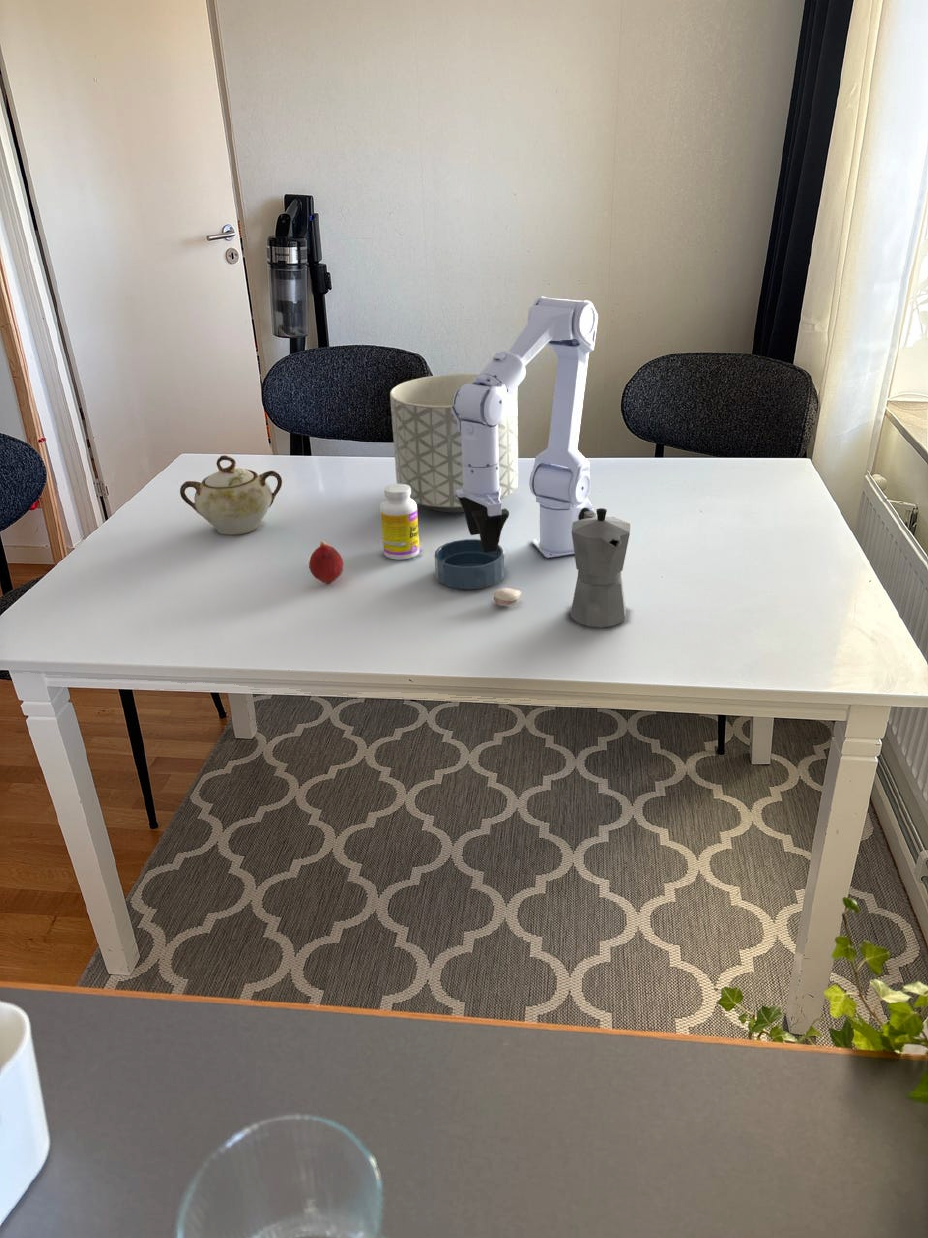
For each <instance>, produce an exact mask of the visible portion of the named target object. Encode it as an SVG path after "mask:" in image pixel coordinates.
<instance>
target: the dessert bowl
mask: <svg viewBox="0 0 928 1238" xmlns="http://www.w3.org/2000/svg"><path fill="white" fill-rule="evenodd" d="M505 567H506V566H505V549H504V548H503V547H502V546H501V545H500V544H498V547H497V551H493V552H486V553H485V552H484V551H483V549H482V545H481V539H478V538H477V539H475V538H472V539H471V538H470V539H459V540H454V541H453V540H452V541H451V542H447V543H444V544H443V545H441V546H439V547H438V548H437V549H436V550H435V551H434V571H435V573H434V574H435V578H436V579H437V581H438V582H439V583H441V584H442V585H444V586H446V587H451V588H453V589H458V590H477V589H484V588H487V587H489V586H492V585H493V586H494V585H495V584H497V583H498V582H500V581H502V579H503V578H504V576H505V575H506V574H505V573H506V571H505V569H506V568H505Z"/></svg>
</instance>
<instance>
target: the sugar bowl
mask: <svg viewBox="0 0 928 1238" xmlns="http://www.w3.org/2000/svg"><path fill="white" fill-rule="evenodd" d="M223 461H228V462H230V463H231V464H230V465H229V466H228V467H222V465H221V462H223ZM236 462H237V461H236V460H235V459H234V458H232V457H230V456H228V455H226V454H225V455H220V456H219V457H218V458H217V460H216V467H217V471H215V472H213V473H211V474H210V475H207V477H204V478H203V479H202V480H201V482H199V481H195V480H188V481H187V480H186V481H185V482H183V483H182V485H181V486H180V488H179V495H180V498H181V499H182V500H183V501H184V502H185V503H186V504H187V505H188V506H190V507H191V508H192V509H193V510H194V511H195V512H196V513H197V514H198V515H200V516H201V517H202V518H203V519H204V520H205V521H206V522H208V523H209V524H210V525H211V526H212V527H213V528H214V529H215V530H216V531H217V532H218V533H220V534H222V535H230V536H235V535H241V534H242V535H243V534H246V533H247V534H248V533H249V532H252V531H254V530H256V529H258V528H259V527H260V526H261V524H262V520H263V519H264V517H265V516H266V514H267V512H268V510H269V509H270V507H271V506H272V505H273V503H274V500H275V499H276V496H277V495H278V493H279V492H280V490H281V488H282V485H283V479H282V476H281V475H280V473H278V472H277V471H276V470H268V471H265V472H262V473H261V474H258V473H257V472H256V471H254V470H251V469H244V468H238V467H237V468H236V466H237V464H236ZM269 477H274V478H275V479H276V481H277V484H276V486H275V489H274V491H272V488H271V486H270V484H269V482H268V481H267V480H266V479H268V478H269ZM188 488H193V489H195V493H194V497H193V498H194V502H193V501H191V499H189V497H188V496H187V494H186V490H187V489H188Z"/></svg>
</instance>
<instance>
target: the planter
mask: <svg viewBox="0 0 928 1238" xmlns="http://www.w3.org/2000/svg"><path fill="white" fill-rule="evenodd" d="M478 375H479V374H475V373H474V374H472V373H454V374H453V373H452V374H440V375H429V376H424V377H419V378H415V379H414V378H413V379H411V380H407V381H404V382H401V383H399V384H396V386H394V387H393V388H392V389H391V390H390V392H389V398H390V411H391V424H392V438H393V439H392V440H393V452H394V463H395V464H394V466H395V478H396V484H406V485H409V486H410V490H411V494H410V498H411V499H413V500H414V501H415V502H416V504H418V505H422V506H423V507H427V508H429V509H432V510H434V511H438V512H444V513H452V514H459V513H460V514H461V513H464V511H463V508H462V505H461V503H460V501H459V499H458V497H457V496H456V490H459V489H462V488H463V466H462V441H461V433H460V432H459V430H458V426H457V420H456V419H455V417H454V415H453V412H452V405H453V401H454V396H455V394H456V392H457V390H458V389H459V388H460V387H462V386H463V385H465V384H468V383H470V384H472V383H473V381H474V380H475V379H476V378H477V377H478ZM518 406H519V405H518V387H517V388H516V389H515V390H514V392H513V393H512V394H511V395H510V397H509V401H508V404H507V406H506V410H505V414H504V417H503V419H502V420H501V421H500V422H499V423H498V447H499V486H500V488H501V494H500V501H502V500H503V499H505V498H507V497H509V496H511V495H512V494H514V493H515V492H516V490H517V489H518V488H519V426H518V425H519V419H518V417H519V416H518Z"/></svg>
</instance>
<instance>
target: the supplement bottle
mask: <svg viewBox="0 0 928 1238" xmlns="http://www.w3.org/2000/svg"><path fill="white" fill-rule="evenodd" d="M383 489H384V490H383V491H384V497H385V499H384V500H383V501H382V502H381V503H380V506H379V507H380V508H379V509H380V520H381V521H380V522H381V535H382V548H383V554H384V555H385V557H386V558H388V559H391V560H397V561H398V560H400V561H402V560H403V561H404V560H409V559H412V558H415V557H416V556H417V555H418V554H419V553H420V536H419V535H420V534H419V533H420V532H419V521H418V520H419V519H418V518H419V517H418V505H417V503H416V502H415V501H414V500H413V499H411V498H410V494H411V490H410V486H409V485H406V484H397V483H392V484H388V485H386V486H385V487H384V488H383Z"/></svg>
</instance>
